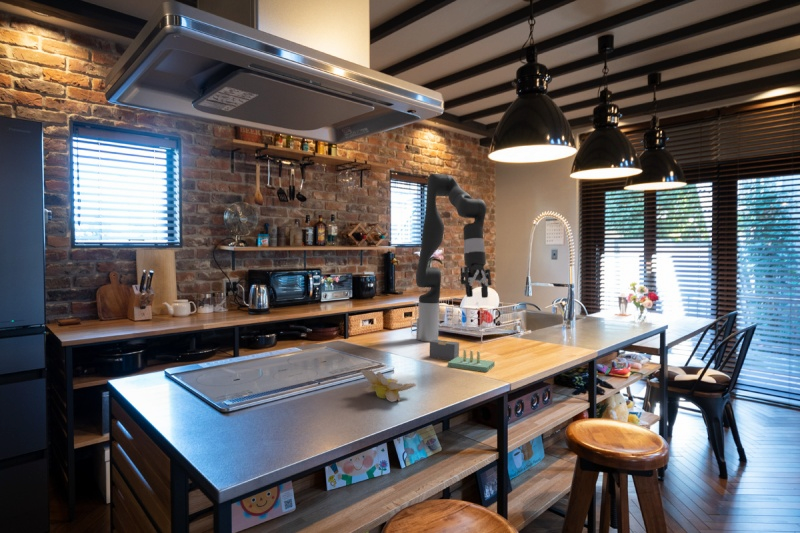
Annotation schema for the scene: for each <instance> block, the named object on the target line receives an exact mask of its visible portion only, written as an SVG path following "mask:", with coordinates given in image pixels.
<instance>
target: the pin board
mask: <svg viewBox="0 0 800 533" xmlns="http://www.w3.org/2000/svg"><path fill="white" fill-rule="evenodd" d="M447 367H449V368H456V369H463V370H470V371H475V372H476V371H477V372H485V373H488V372H489V371H490V370H491V369H492V368H493V367H495V361H493V360H486V359H485V360H484V359H481V351H480V350H478V351H476V358H474V350H472V349H471V350H470V352H469V357H467V349H463V356H462V357H461V356H459V357H456V358H454V359H453V360H448V361H447Z"/></svg>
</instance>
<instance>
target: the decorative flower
mask: <svg viewBox="0 0 800 533" xmlns="http://www.w3.org/2000/svg"><path fill="white" fill-rule="evenodd" d="M360 372H361V374H362V375H363V377H364V378H365V379H366V380H367V381H368V382H369V383H370V384H371V385H370V386H367V387H366V388H364V389H363V390H364V391H367V392H369V393H370V392H375V394H376V396H377V397H378V398H380V399H387V400H388V401H389V402H396V401H397V400H398V401H399V402H400V401H401V399H400V398H401V397H400V393H399V392H404V391H407V390H410V389H412V388H414V387H417V384H415V383H411V382H410V383H405V384H404V383H398V381H399V380H398V379H396V378H386V377H385V376H384V375H383V373H382V372H381V371H378V372H377V373H375V372H374V371H373V370H370V369H367V370H366V369H363V368H362V369H361V370H360Z"/></svg>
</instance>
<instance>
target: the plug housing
mask: <svg viewBox="0 0 800 533" xmlns="http://www.w3.org/2000/svg"><path fill="white" fill-rule="evenodd" d="M459 355H460V342H459V341H452V340H451V341H450V340H441V339H438V340H433V341H429V358H432V359H439V360H447V361H451V360H453V359H454V358H456V357H460V356H459Z"/></svg>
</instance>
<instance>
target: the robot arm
mask: <svg viewBox="0 0 800 533" xmlns="http://www.w3.org/2000/svg"><path fill="white" fill-rule="evenodd" d="M437 197H448V201H449V203H450V204H451V205H452V206H453V207H455V210H456V213H457V215H458V216H459V217H461V218H466V219H474V220H473V222H471V223H467V224H465V225H464V226H463V230H462V231H463V258H464V261H463V262H464V266H462V267H460V284H461V285H463V286H465V295H466V298H472V297H473V295H474V292H473V286H472V285H473V283H474V282H477V283H479V285H480V287H481V289H480V290H481V292H480V293H481V298H483V299H486V298H488V297H489V291H488V287H489V286H491V285H492V278H491V270H490V269H489V268H488V269H487V268H486V269H485V267H484V266H485V265H486V264H487V260H486V245H485V241H484V240H485V239H484V224H485V220H486V219H485V218H486V215H487V204H486V202H485V201H484V200H483V199H479V198H473V197H472V196H471V195H470V194H469V193H468V192H466V191H465V190H464V189H462V188H461V186H460V185H459V184H458V182H457V181H456V179H455V178H454V177H453V176H452V175H450V174H443V173H441V174H439V173H431V174H430V175H429V177H428V180H427V184H426V197H425V198H426V200H425V203H426V204H425V212H424V213H425V214H424V220H423V226H422V234H421V246H420V253H419V259H418V264H417V267H416V268H417V269H416V275H415V284H416V285H417V287H419V288H430V290H428V292H426V293H423V294H421V295H420V296H419V298H418V318H416V337H415V339H416V341H417V340H418V341H422V342H430V341H433V340H439V324H440V322H439V320H440V319H439V318H440V317H439V316H440V299H441V298H440V297H441V283H442V272H441V269H440V268H439V267H432V266H431V267H429V266H428V265H429V261H430V260H431V258H432V256H433V255H434V254H435V253H436V251H437V250H438V248H440V247H441V245H442V244H443V240H444V233H445V232H444V231H445V224H444V221H443V219H442V217H441V215H440V212H439V210H438V207H437Z"/></svg>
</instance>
